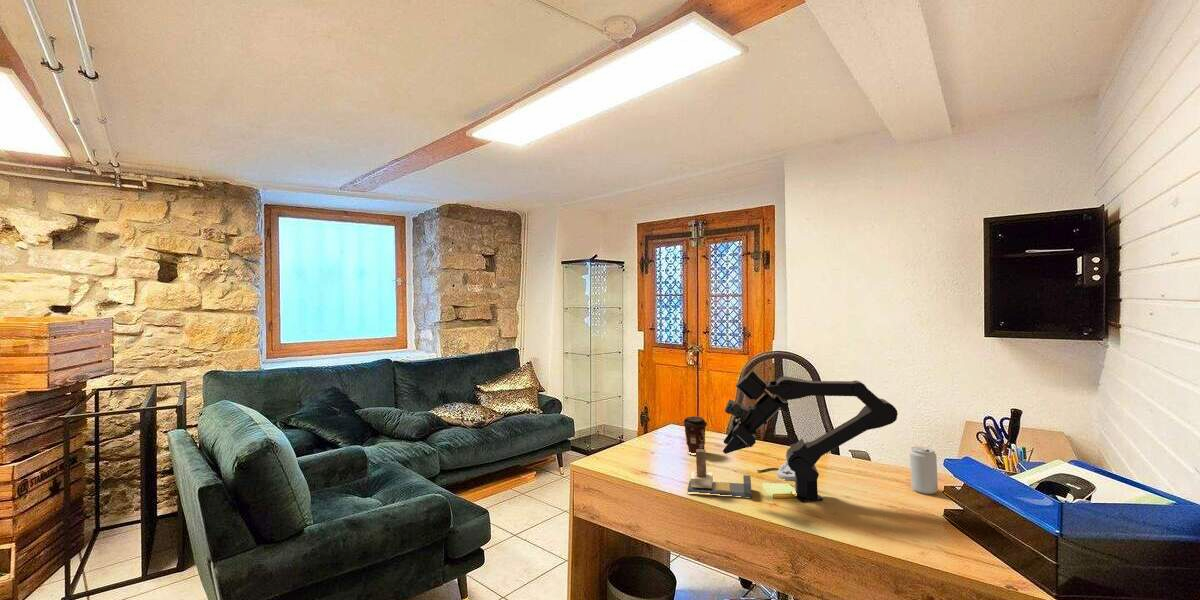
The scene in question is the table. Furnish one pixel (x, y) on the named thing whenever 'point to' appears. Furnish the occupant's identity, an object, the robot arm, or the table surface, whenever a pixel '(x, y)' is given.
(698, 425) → the coffee cup
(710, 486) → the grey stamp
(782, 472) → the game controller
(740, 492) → the clamp rail
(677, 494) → the table surface
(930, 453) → the beverage can
